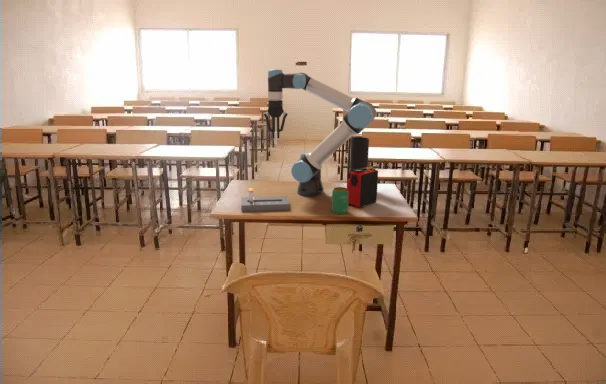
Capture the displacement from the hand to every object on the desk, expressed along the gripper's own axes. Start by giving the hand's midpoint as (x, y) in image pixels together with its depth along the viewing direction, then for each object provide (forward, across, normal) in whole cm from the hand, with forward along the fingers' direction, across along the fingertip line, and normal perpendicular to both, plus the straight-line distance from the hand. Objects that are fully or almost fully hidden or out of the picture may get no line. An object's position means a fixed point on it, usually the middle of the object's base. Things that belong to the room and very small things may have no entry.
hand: (275, 144), depth 246 cm
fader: (+29, +14, +17) cm, 37 cm away
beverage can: (+30, -30, +30) cm, 52 cm away
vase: (+30, -49, -11) cm, 58 cm away
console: (+29, +7, +17) cm, 35 cm away
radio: (+30, -44, +17) cm, 56 cm away
